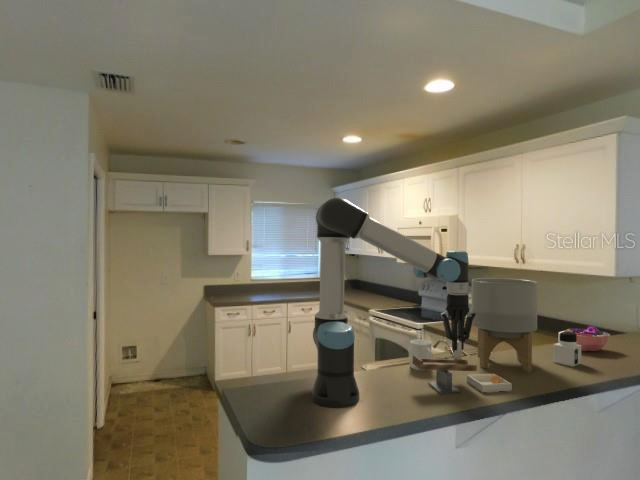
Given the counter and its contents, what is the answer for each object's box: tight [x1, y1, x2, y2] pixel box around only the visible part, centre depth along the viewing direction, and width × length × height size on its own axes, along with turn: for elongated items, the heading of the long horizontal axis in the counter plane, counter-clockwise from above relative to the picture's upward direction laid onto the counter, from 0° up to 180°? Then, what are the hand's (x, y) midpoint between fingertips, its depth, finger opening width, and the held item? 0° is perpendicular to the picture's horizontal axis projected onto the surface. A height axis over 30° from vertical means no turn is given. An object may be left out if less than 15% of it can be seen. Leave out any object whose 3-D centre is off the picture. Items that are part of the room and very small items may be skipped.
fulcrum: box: [427, 370, 461, 395], centre depth 144 cm, size 7×10×7 cm
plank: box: [413, 355, 478, 372], centre depth 147 cm, size 20×13×3 cm, turn 98°
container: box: [552, 330, 582, 367], centre depth 176 cm, size 8×8×13 cm
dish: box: [466, 373, 513, 394], centre depth 147 cm, size 11×11×3 cm
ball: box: [491, 374, 501, 384], centre depth 147 cm, size 3×3×3 cm
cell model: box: [563, 325, 611, 352], centre depth 197 cm, size 17×20×11 cm
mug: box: [409, 339, 434, 372], centre depth 166 cm, size 12×8×10 cm
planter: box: [471, 277, 538, 373], centre depth 175 cm, size 25×25×34 cm
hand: (457, 358), depth 152 cm, fingers closed
